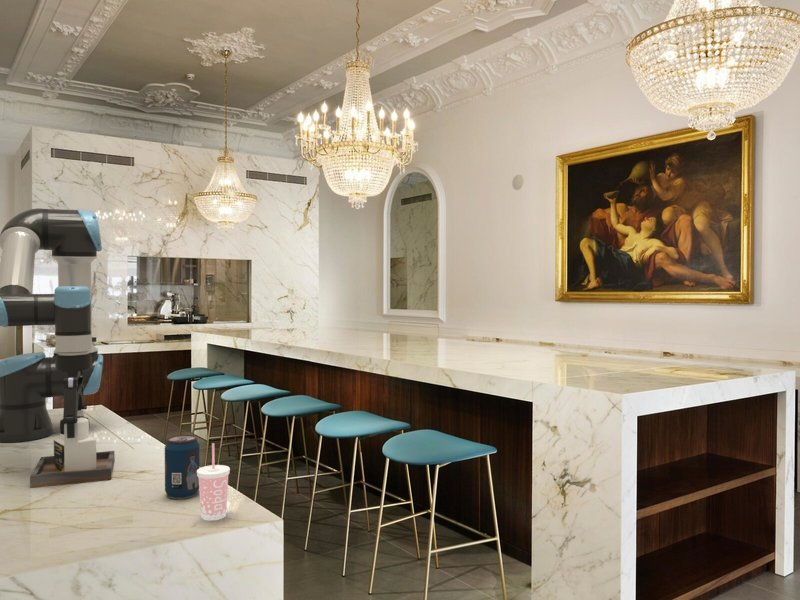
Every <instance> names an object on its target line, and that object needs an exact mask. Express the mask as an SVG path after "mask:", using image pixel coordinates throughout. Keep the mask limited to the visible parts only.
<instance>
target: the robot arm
mask: <svg viewBox="0 0 800 600" xmlns="http://www.w3.org/2000/svg"><path fill="white" fill-rule="evenodd" d="M0 248H1V256H0V327H4V328H6V327H7V328H8V327H25V326H27V327H28V326H29V327H30V326H54V330H55V331H54V336H55V337H54V338H53V339H52V340H51V343H52V344H55V346H54V347H55V348H54V349H53V350H52V351H53V356H48V357H47V356H46V354H45V352H43V351H39V352H31V353H30V352H29V353H23V354H18V355H13V356H9V357H5V358H3V359H2V360H0V443H19V442H27V441H35V440H40V439H42V438H43V439H44V438H47V437H49V436H51V435H53V433H54V424H53V422H52V419H51V416H50V414H49V412H48V409H47V404H46V403H47V401H46V399H49V398H59V397H61V398H62V397H63V416H62V417H63V418H62V419H60V420H59V425H60V424H64V450H65V453H69V452H78V422H77V421H78V419H77V416H84V415H85V411H84V410H87V408H88V405H87V404H85V397H84V396H86V395H87V396H88V395H93V394H96V393H97V392H99V389H100V386H101V380H102V376H103V375H102V374H103V364H104V356H103V354H100V353H99V352H98V351H99V349H98V347H96V346H95V345H94V344H93V334H92V332H93V330H92V329H93V327H92V325H93V323H92V321H93V320H92V317H93V316H92V308H93V307H92V262H93V261H94V260H96V258H97V257H98V256H97V252H101V251H102V250H103V246H102V239H101V233H100V226H99V221H98V216H97V214H96V213H95V212H93V211H91V210H81V209H59V208H58V209H57V208H56V209H55V208H39V207H38V208H30V209H28V210H25V211H22V212H19V213H18V214H17V215H15V216H13V217H12V218H11V219H9V221H7V222H6V223H5V225H4V226H3V228H2V229H1V231H0ZM40 250H41V251H51V258H52V259H54V260H55V261H56V262H57V280H58V281H57V283H58V286H57V287H55V289H54V293H33V291H34V290H33V288H34V276H35V275H34V273H35V265H36V264H35V261H36V254H37V252H38V251H40ZM84 417H85V416H84Z"/></svg>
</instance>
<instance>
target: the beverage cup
mask: <svg viewBox="0 0 800 600" xmlns="http://www.w3.org/2000/svg"><path fill="white" fill-rule="evenodd" d="M215 450H216V449H215V443H213V442H212V443H211V456H212V457H211V465H205V466H202V467H200V468H199V469H198V470H197V476H198V479H199V490H198V492H199V500H200V502H199V503H200V516H201V519H202V520H204V521H218V520H222V519H224V518H225V517H227V510H228V508H227V507H228V490H229V488H228V487H229V475H230V470H231V468H230V467H229V466H228V465H224V464H215V463H216V462H215V461H216V460H215V457H216V456H215V452H216V451H215Z"/></svg>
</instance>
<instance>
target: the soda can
mask: <svg viewBox="0 0 800 600" xmlns="http://www.w3.org/2000/svg"><path fill="white" fill-rule="evenodd" d="M200 455H201V454H200V443H199V441H198V439H197V436H196V435H192V434H177V435H173V436H169V437H168V438H167V442H166V444H165V445H164V492H165V493H166V495H167V496H168V498H170V499H173V500H183V499H184V500H186V499H189V498H191V497H194V496H196V495H197V493H198V492H199V479H198V476H197V470H198V469H199V468H201V467H200V464H201V463H200V459H201V458H200Z"/></svg>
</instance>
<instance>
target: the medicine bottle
mask: <svg viewBox="0 0 800 600" xmlns="http://www.w3.org/2000/svg"><path fill="white" fill-rule="evenodd" d="M77 419H78V421H77V422H78V452H69V453H65V450H64V424H60V423H59V435H60V436H59V437H55V438H54V439H53V456H54V468H55V469H56V470H58V471H59V472H68V471H78V470H89V469H96V452H97V439H96V438H94V437H92V436H90V419H89V418H88V417H86V416H77Z"/></svg>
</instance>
